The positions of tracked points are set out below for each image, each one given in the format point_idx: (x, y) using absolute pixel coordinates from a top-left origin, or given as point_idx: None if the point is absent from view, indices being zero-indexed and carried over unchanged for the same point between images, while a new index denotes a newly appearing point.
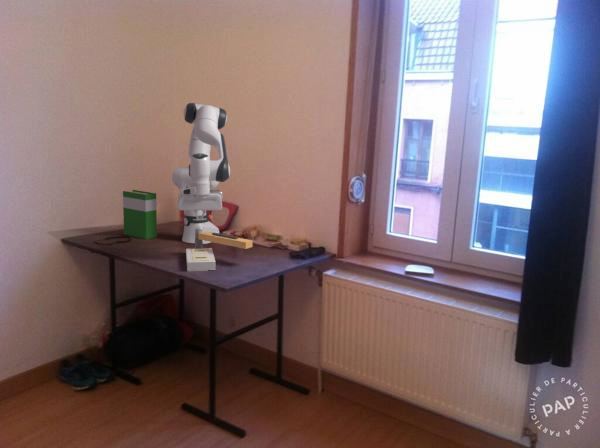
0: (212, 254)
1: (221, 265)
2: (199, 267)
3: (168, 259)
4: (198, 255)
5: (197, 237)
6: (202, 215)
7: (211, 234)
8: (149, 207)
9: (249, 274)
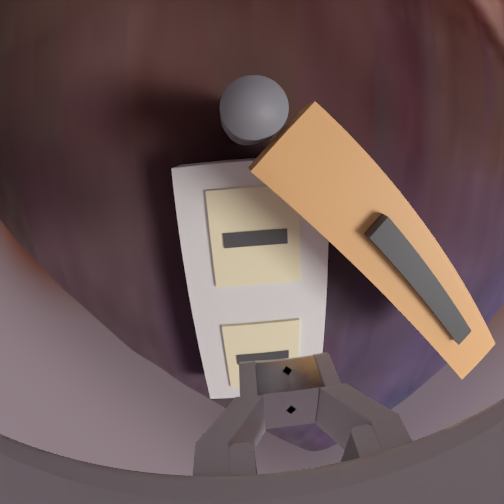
0: (321, 292)
1: (343, 306)
2: None
3: (106, 217)
4: (250, 311)
5: (241, 139)
6: (328, 430)
7: (360, 224)
8: None
9: (399, 381)
